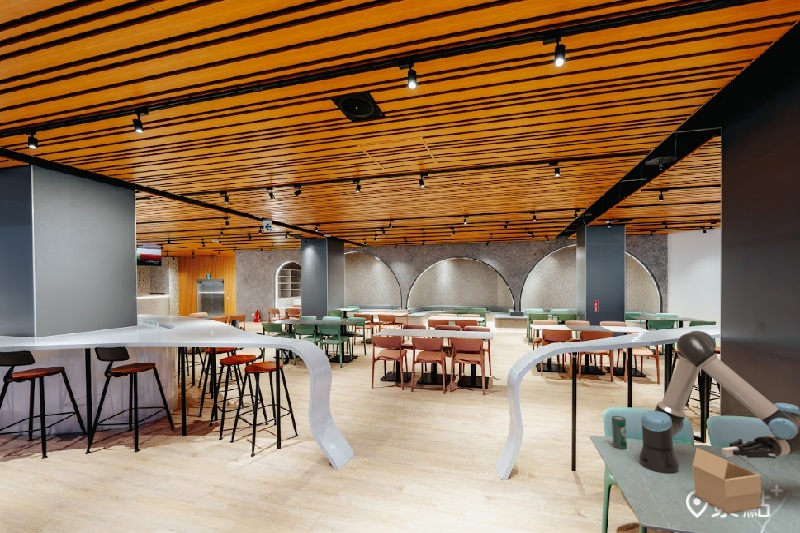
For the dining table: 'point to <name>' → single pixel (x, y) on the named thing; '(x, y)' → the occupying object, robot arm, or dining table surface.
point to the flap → (710, 463)
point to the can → (619, 432)
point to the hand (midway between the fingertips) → (723, 452)
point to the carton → (729, 488)
